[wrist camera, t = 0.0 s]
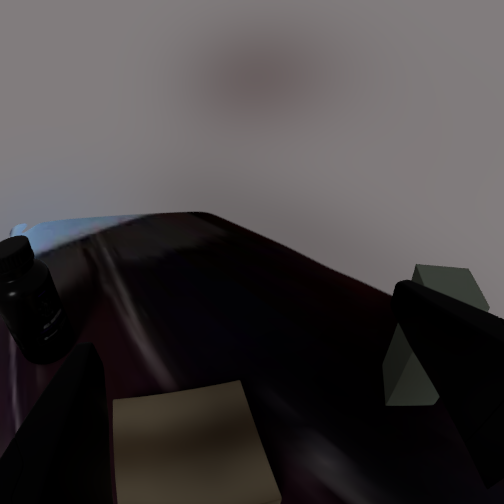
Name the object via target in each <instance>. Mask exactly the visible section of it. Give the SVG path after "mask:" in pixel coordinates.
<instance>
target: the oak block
mask: <svg viewBox="0 0 504 504" xmlns="http://www.w3.org/2000/svg"><path fill="white" fill-rule="evenodd" d="M113 437H114V460H115V476H116V488H117V499H118V504H280V503H281V499H282V497H281V494H280V492H279V489H278V486H277V484H276V481H275V479H274V476H273V473H272V470H271V468H270V465H269V462H268V460H267V457H266V454H265V451H264V449H263V446H262V443H261V440H260V437H259V435H258V432H257V429H256V426H255V423H254V420H253V417H252V414H251V411H250V409H249V406H248V403H247V400H246V397H245V394H244V391H243V388H242V385H241V382H240V380H238V381H233V382H228V383H224V384H218V385H213V386H208V387H202V388H197V389H191V390H185V391H179V392H172V393H166V394H159V395H151V396H144V397H135V398H127V399H117V400H113Z"/></svg>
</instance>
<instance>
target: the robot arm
mask: <svg viewBox="0 0 504 504" xmlns="http://www.w3.org/2000/svg"><path fill="white" fill-rule="evenodd" d="M391 309H392V311H393V313H394V315H395V317H396V319H397V321H398V323H399V325H400V327H401V329H402V331H403V333H404V335H405V337H406V339H407V341H408V343H409V345H410V347H411V349H412V351H413V352H414V354H415V356H416V357H417V359H418V360H419V362H420V364H421V365H422V367H423V369H424V371H425V372H426V374H427V376H428V377H429V379H430V381H431V382H432V384H433V386H434V388H435V389H436V391H437V393H438V395H439V396H440V398H441V400H442V402H443V404H444V405H445V407H446V409H447V411H448V413H449V414H450V416H451V418H452V420H453V422H454V424H455V426H456V428H457V429H458V431H459V433H460V435H461V437H462V439H463V441H464V443H465V445H466V447H467V449H468V451H469V453H470V455H471V457H472V459H473V461H474V463H475V466H476V468H477V470H478V472H479V474H480V476H481V478H482V480H483V483H484V485H485V487H486V488H487V489H489V488H490V487H492V486H493V485H494V484H496V483H497V482H499V481H500V480H502V479H503V478H504V319H502V318H498V316H495V315H493V314H491V313H488V312H486V311H483V310H481V309H479V308H476V307H474V306H472V305H469V304H467V303H465V302H462V301H460V300H457V299H455V298H453V297H450V296H448V295H445V294H443V293H440V292H438V291H436V290H433V289H431V288H428V287H426V286H423V285H421V284H418V283H416V282H413V281H411V280H403V281H400V282H398V283H397V284H396V285H395V289H394V293H393V296H392V299H391ZM0 504H113V497H112V485H111V471H110V451H109V418H108V408H107V399H106V388H105V377H104V367H103V363H102V361H101V359H100V357H99V355H98V353H97V351H96V349H95V347H94V345H93V344H92V343H91V342H85V343H79V344H77V345H76V346H75V348H74V349H73V350H72V352H71V353H70V354H69V356H68V357H67V358H66V360H65V361H64V363H63V364H62V365H61V367H60V368H59V370H58V371H57V372H56V374H55V375H54V377H53V378H52V380H51V381H50V382H49V384H48V385H47V387H46V388H45V390H44V391H43V393H42V394H41V396H40V397H39V399H38V400H37V402H36V403H35V405H34V406H33V408H32V409H31V411H30V412H29V414H28V415H27V417H26V418H25V420H24V421H23V423H22V425H21V426H20V428H19V429H18V431H17V433H16V434H15V438H13V439H12V440H11V442H10V444H9V445H8V447H7V449H6V450H5V452H4V453H3V455H2V457H1V458H0Z"/></svg>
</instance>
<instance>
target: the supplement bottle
mask: <svg viewBox="0 0 504 504" xmlns="http://www.w3.org/2000/svg"><path fill="white" fill-rule="evenodd" d="M0 314H1V316H2V318H3V320H4V322H5V324H6V326H7V328H8V329H9V331H10V333H11V335H12V337H13V338H14V340H15V342H16V344H17V345H18V347H19V349H20V350H21V352H22V354H23V355H24V357H25V358H26V359H27V360H28V361H30V362H32V363H35V364H41V365H42V364H49V363H52V362H55V361H57V360H58V359H60V358H61V357H63V356H64V355H65V354H66V353H67V352H68V350H69V349H70V347H71V346H72V343H73V340H74V332H73V329H72V326H71V324H70V321H69V319H68V317H67V314H66V312H65V310H64V307H63V305H62V302H61V300H60V298H59V295H58V292H57V290H56V287H55V285H54V282H53V279H52V277H51V274H50V271H49V269H48V267H47V266H46V264H45V263H43V262H42V261H40V260H38V259H35V258H34V252H33V250H32V249H31V246H30V242H29V240H28V238H27V237H26V236H22V235H21V236H14V237H10V238H8V239H6V240H3V241H1V242H0Z"/></svg>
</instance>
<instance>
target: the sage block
mask: <svg viewBox="0 0 504 504" xmlns="http://www.w3.org/2000/svg"><path fill="white" fill-rule="evenodd" d="M411 281H413V282H416V283H418V284H421V285H423V286H426V287H428V288H431V289H433V290H436V291H438V292H440V293H443V294H445V295H448V296H450V297H453V298H455V299H457V300H460V301H462V302H465V303H467V304H469V305H472V306H474V307H476V308H479V309H481V310H483V311H486V312H488V310H489V308H490V307H489V305H488V303H487V301H486V299H485V297H484V296H483V294H482V292H481V290H480V288H479V287H478V285H477V283H476V281H475V279H474V278H473V276H472V274H471V272H470V271H469V269H465V268H454V267H442V266H430V265H420V264H416V266H415V270H414V273H413V277H412V280H411ZM382 368H383V378H384V390H385V404H386V406H413V405H434V404H435V403H436V401H437V400H438V398H439V397H440V396H439V395H438V393H437V391H436V389H435V388H434V386H433V384H432V382H431V381H430V379H429V377H428V376H427V374H426V372H425V371H424V369H423V367H422V365H421V364H420V362H419V360H418V359H417V357H416V356H415V354H414V352H413V351H412V349H411V347H410V345H409V343H408V341H407V339H406V337H405V335H404V333H403V331H402V329H401V327H400V325H399V323H398V324H397V327H396V330H395V332H394V335H393V338H392V341H391V343H390V346H389V349H388V351H387V354H386V356H385V359H384V362H383V364H382Z"/></svg>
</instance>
